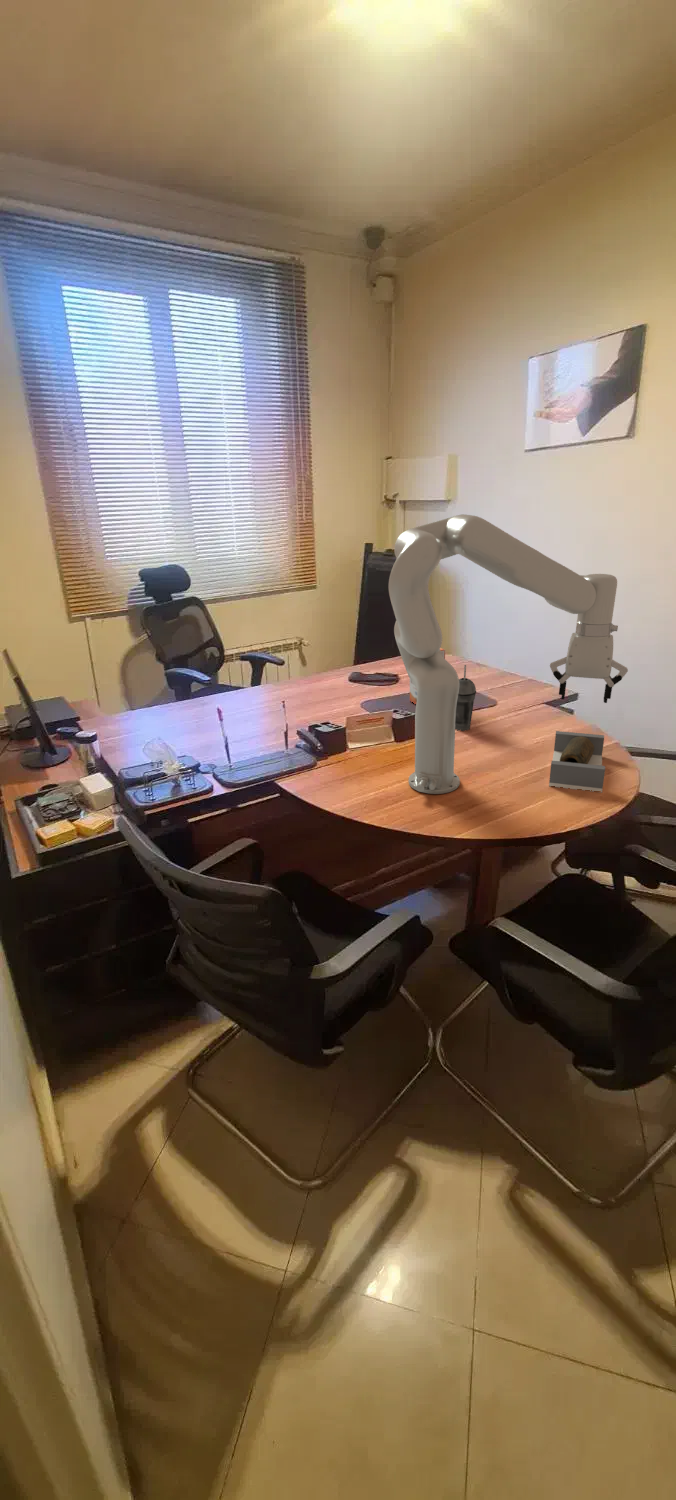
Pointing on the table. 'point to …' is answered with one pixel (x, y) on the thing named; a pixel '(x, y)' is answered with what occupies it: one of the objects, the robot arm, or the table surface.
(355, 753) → the table surface
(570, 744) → the brown piece
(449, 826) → the table surface
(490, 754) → the table surface
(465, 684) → the beverage cup
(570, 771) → the holder
